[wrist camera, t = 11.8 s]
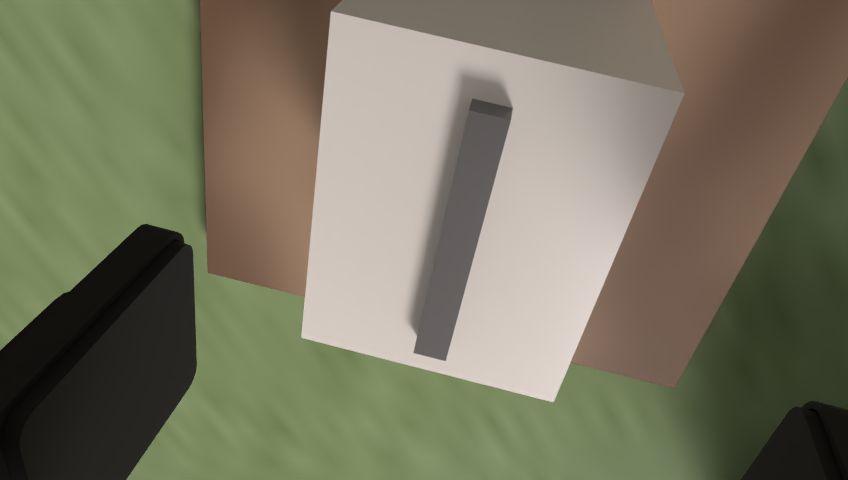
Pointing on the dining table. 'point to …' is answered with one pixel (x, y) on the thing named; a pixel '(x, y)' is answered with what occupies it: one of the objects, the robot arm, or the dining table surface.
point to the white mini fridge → (480, 178)
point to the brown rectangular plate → (659, 203)
